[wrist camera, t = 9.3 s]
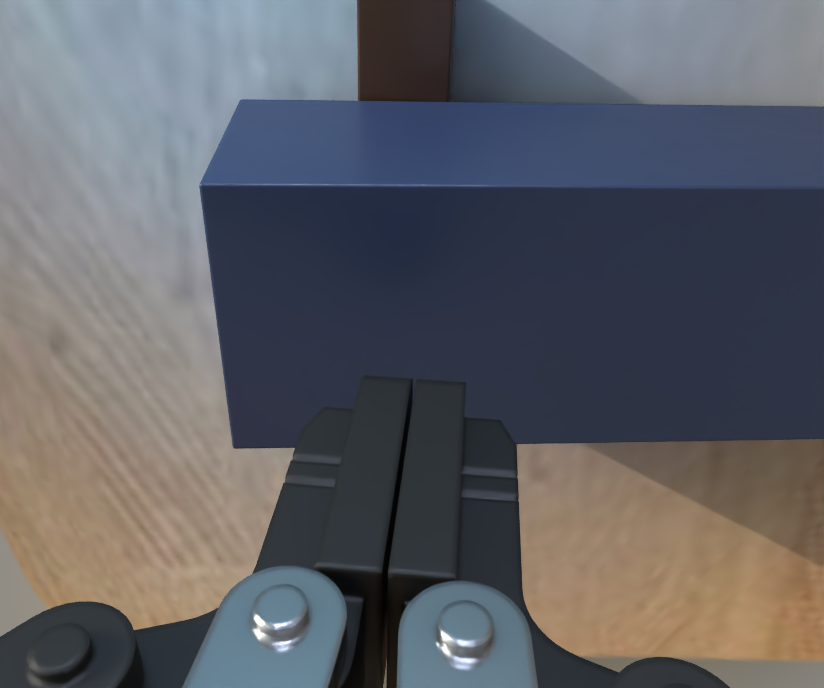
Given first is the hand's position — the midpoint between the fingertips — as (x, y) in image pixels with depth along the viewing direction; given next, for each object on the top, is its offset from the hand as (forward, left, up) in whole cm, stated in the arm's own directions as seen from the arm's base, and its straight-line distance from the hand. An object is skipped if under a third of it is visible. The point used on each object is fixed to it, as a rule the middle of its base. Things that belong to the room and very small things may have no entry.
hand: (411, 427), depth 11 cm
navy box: (-4, 0, -5) cm, 6 cm away
